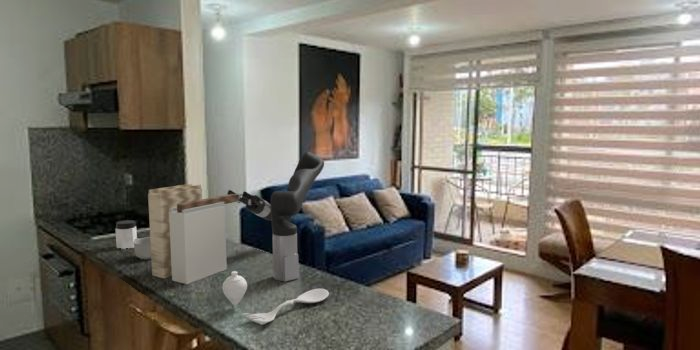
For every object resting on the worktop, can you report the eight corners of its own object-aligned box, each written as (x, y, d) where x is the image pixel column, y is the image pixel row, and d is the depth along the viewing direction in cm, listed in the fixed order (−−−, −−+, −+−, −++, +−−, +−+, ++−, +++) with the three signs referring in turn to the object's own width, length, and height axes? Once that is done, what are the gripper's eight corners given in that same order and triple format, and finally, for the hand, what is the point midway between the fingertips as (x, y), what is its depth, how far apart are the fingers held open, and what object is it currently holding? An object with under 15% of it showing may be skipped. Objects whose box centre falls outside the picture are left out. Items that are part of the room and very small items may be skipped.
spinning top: (221, 305, 150) (220, 269, 149) (245, 302, 153) (244, 266, 152) (224, 314, 143) (223, 277, 142) (249, 310, 146) (248, 274, 145)
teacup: (165, 257, 203) (164, 239, 202) (140, 263, 195) (139, 244, 194) (151, 251, 212) (150, 234, 211) (127, 256, 204) (126, 238, 203)
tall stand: (193, 261, 196) (190, 183, 193) (204, 264, 193) (201, 184, 189) (152, 275, 179) (147, 189, 175) (164, 278, 176) (160, 191, 172)
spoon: (240, 324, 137) (240, 313, 137) (314, 292, 162) (314, 283, 161) (260, 332, 131) (260, 321, 131) (334, 299, 156) (334, 289, 156)
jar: (117, 250, 214) (116, 224, 213) (115, 246, 221) (114, 221, 219) (138, 247, 219) (137, 222, 218) (135, 243, 226) (134, 219, 224)
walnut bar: (232, 200, 195) (231, 193, 194) (237, 201, 193) (237, 194, 193) (177, 212, 171) (176, 204, 170) (182, 213, 169) (182, 204, 169)
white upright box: (212, 266, 191) (210, 200, 188) (226, 269, 187) (224, 202, 184) (172, 280, 174) (168, 208, 170) (186, 284, 170) (183, 210, 166)
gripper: (249, 197, 212) (226, 183, 199) (273, 200, 205) (251, 185, 192) (244, 212, 210) (220, 199, 197) (268, 216, 203) (245, 202, 190)
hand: (235, 192), depth 194 cm, fingers open, 8 cm apart
